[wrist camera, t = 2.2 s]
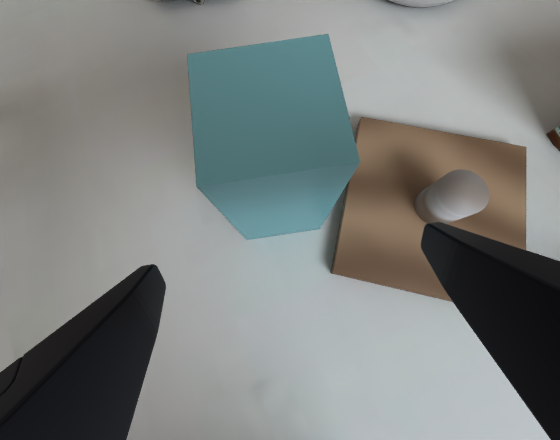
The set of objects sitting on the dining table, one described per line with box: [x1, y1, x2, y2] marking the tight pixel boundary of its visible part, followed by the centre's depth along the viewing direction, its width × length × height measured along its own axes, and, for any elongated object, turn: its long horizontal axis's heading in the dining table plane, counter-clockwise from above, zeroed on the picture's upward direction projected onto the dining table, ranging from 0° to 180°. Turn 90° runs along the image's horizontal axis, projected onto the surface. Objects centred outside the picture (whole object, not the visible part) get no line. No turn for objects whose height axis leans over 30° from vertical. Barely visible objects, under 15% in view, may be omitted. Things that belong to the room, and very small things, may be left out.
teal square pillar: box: [187, 34, 360, 240], centre depth 16 cm, size 6×6×12 cm
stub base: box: [331, 117, 526, 302], centre depth 19 cm, size 14×14×4 cm
